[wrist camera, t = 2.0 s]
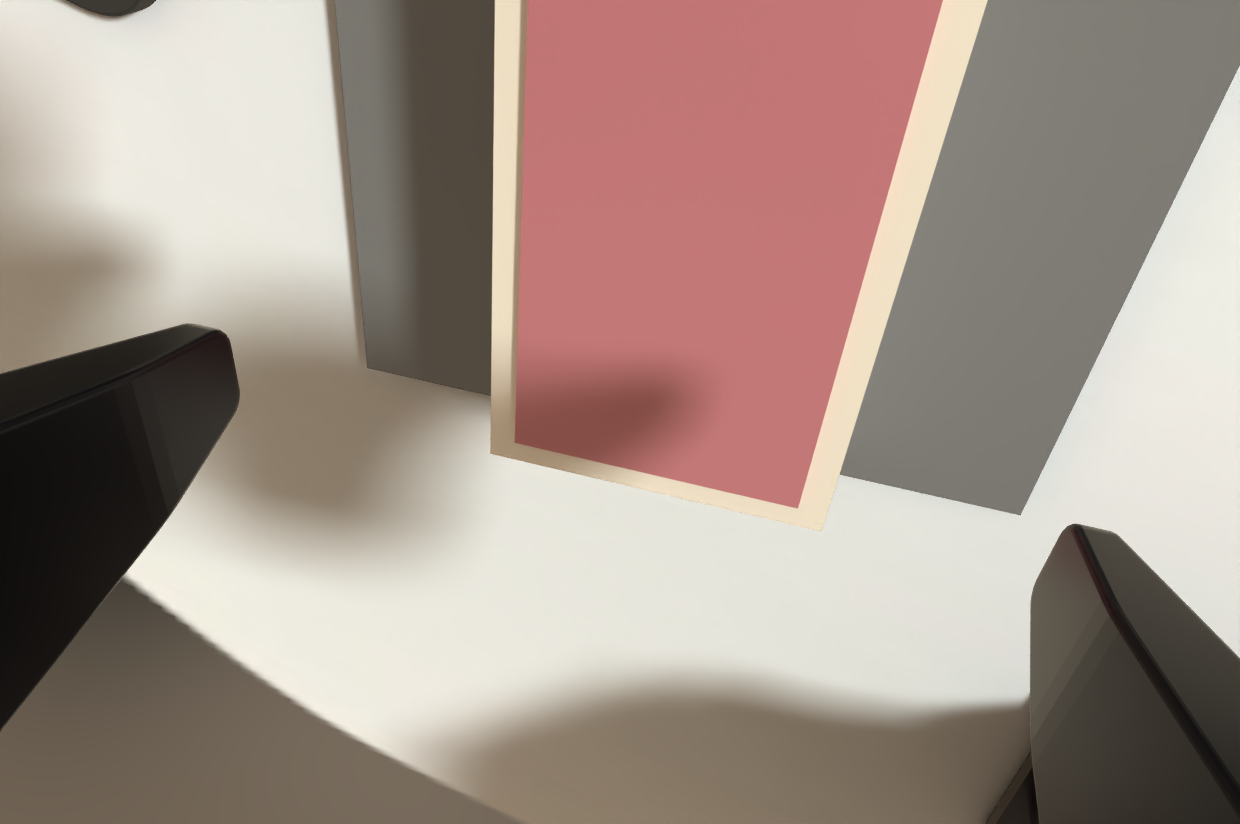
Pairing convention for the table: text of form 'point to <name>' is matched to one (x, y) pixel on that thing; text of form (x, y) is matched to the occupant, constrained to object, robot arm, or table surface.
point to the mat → (940, 251)
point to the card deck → (707, 232)
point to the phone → (113, 6)
